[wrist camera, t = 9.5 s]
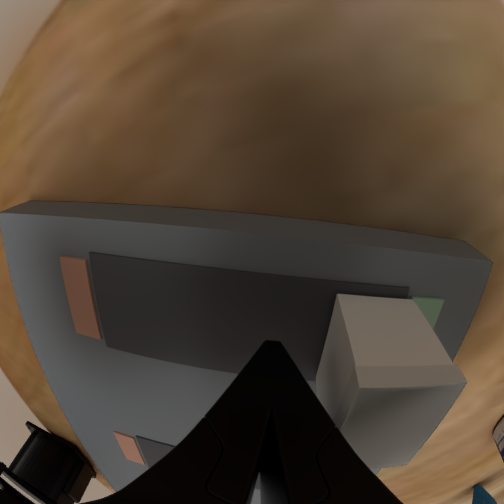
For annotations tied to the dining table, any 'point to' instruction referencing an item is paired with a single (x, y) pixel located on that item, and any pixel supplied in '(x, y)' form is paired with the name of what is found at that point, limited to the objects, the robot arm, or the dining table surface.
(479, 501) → the ornament
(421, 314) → the handle
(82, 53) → the dining table surface
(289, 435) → the robot arm
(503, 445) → the pill bottle
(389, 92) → the dining table surface
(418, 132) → the dining table surface
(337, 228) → the breaker panel
